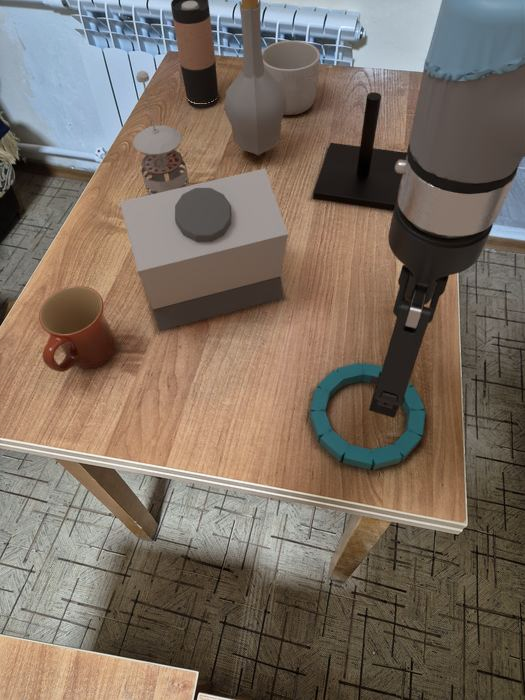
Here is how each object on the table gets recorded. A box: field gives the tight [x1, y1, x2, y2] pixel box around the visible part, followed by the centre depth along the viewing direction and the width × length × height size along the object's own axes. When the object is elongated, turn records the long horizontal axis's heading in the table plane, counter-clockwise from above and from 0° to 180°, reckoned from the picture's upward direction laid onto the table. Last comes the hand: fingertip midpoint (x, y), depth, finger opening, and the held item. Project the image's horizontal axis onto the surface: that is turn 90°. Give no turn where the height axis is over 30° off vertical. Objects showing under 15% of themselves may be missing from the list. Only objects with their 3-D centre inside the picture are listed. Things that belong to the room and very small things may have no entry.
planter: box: [262, 40, 321, 116], centre depth 110 cm, size 12×12×11 cm
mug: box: [38, 285, 117, 373], centre depth 73 cm, size 12×9×10 cm
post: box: [312, 91, 407, 212], centre depth 93 cm, size 16×16×16 cm
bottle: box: [223, 0, 287, 157], centre depth 93 cm, size 11×11×30 cm
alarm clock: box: [119, 168, 289, 332], centre depth 76 cm, size 20×16×20 cm
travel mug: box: [170, 0, 219, 109], centre depth 109 cm, size 8×8×20 cm
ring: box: [309, 362, 426, 471], centre depth 70 cm, size 15×15×2 cm
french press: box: [132, 70, 191, 195], centre depth 87 cm, size 10×12×25 cm
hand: (396, 359), depth 57 cm, fingers open, 13 cm apart
